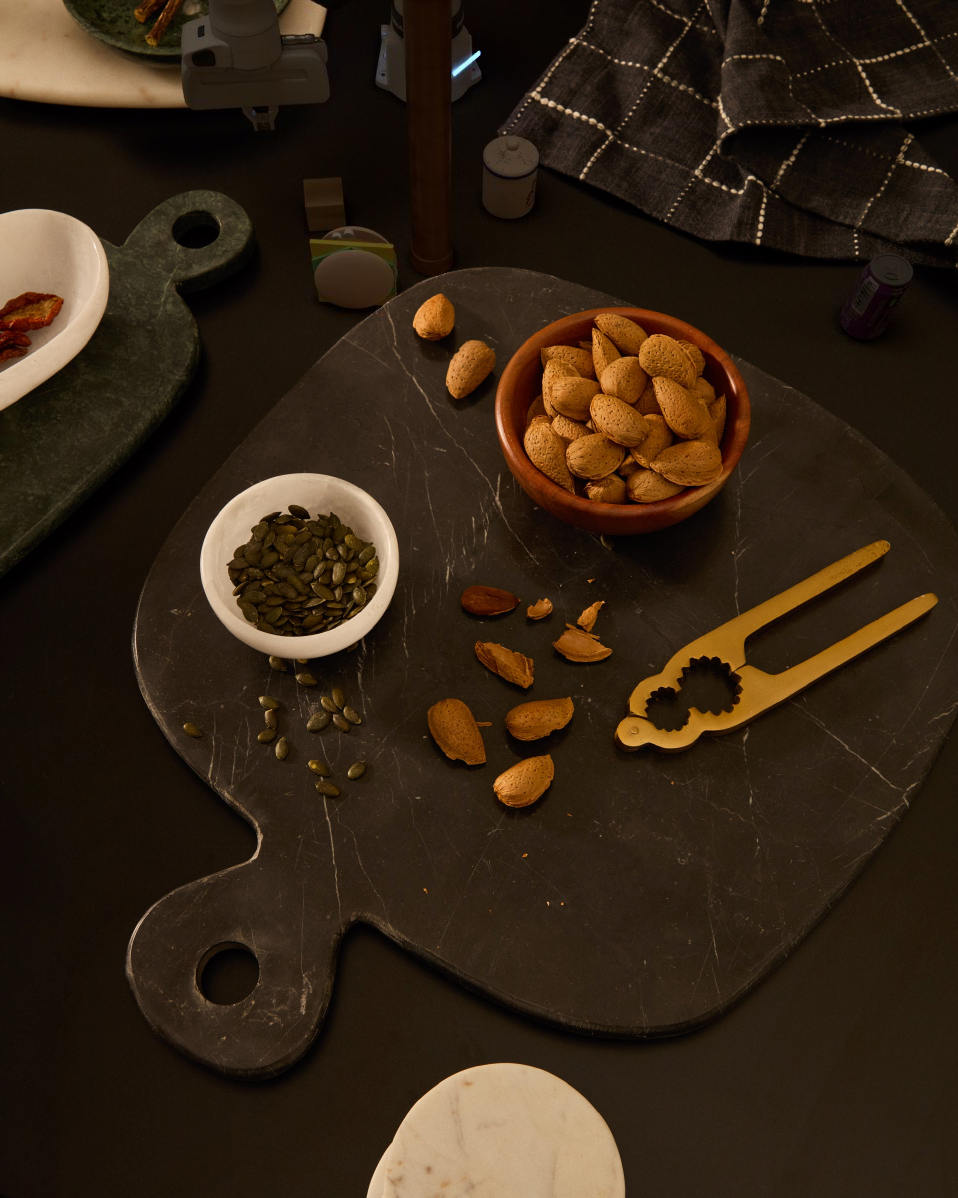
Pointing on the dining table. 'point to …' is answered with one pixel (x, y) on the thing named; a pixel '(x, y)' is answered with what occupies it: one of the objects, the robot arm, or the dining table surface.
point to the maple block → (324, 204)
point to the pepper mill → (429, 131)
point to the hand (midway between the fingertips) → (264, 127)
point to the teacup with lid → (509, 176)
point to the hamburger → (354, 268)
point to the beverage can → (876, 296)
